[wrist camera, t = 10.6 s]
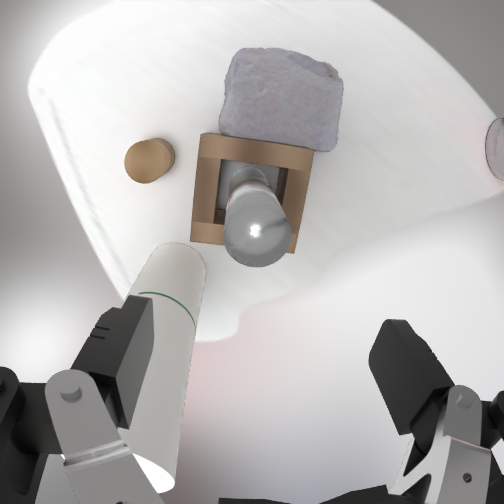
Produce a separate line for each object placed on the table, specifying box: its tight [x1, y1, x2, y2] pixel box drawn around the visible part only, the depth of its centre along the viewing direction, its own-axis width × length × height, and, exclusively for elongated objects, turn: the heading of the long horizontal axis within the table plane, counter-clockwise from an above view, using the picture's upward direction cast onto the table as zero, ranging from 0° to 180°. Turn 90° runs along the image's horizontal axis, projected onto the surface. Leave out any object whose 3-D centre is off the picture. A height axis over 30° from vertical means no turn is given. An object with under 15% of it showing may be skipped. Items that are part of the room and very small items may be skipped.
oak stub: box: [125, 138, 175, 183], centre depth 28 cm, size 4×4×4 cm
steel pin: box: [223, 167, 292, 267], centre depth 25 cm, size 4×4×15 cm
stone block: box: [219, 48, 344, 152], centre depth 27 cm, size 12×5×10 cm
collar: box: [190, 133, 314, 254], centre depth 29 cm, size 10×10×5 cm
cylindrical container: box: [61, 243, 206, 493], centre depth 24 cm, size 7×7×25 cm
